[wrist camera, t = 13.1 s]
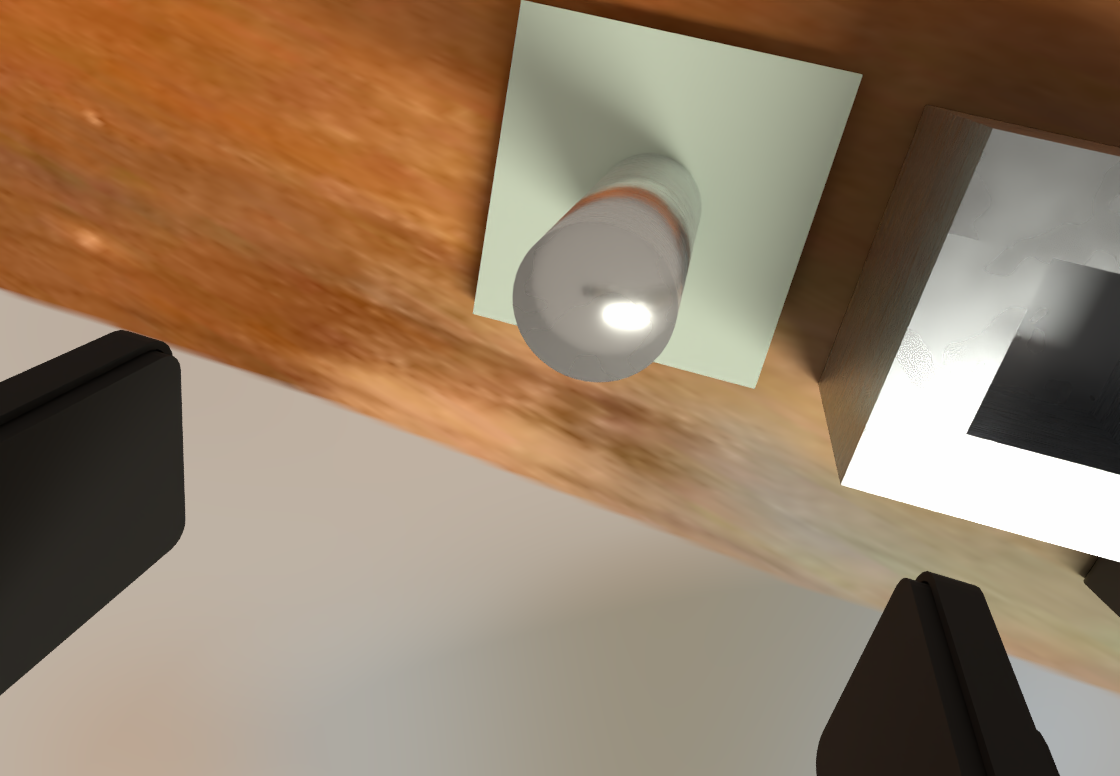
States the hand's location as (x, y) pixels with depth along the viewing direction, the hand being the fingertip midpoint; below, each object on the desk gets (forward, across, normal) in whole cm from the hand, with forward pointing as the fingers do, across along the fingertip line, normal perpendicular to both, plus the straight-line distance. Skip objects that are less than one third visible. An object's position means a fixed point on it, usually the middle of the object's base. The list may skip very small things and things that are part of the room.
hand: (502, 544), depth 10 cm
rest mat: (+23, +1, 0) cm, 23 cm away
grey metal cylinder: (+22, +1, 0) cm, 22 cm away
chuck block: (+23, -13, 0) cm, 26 cm away
